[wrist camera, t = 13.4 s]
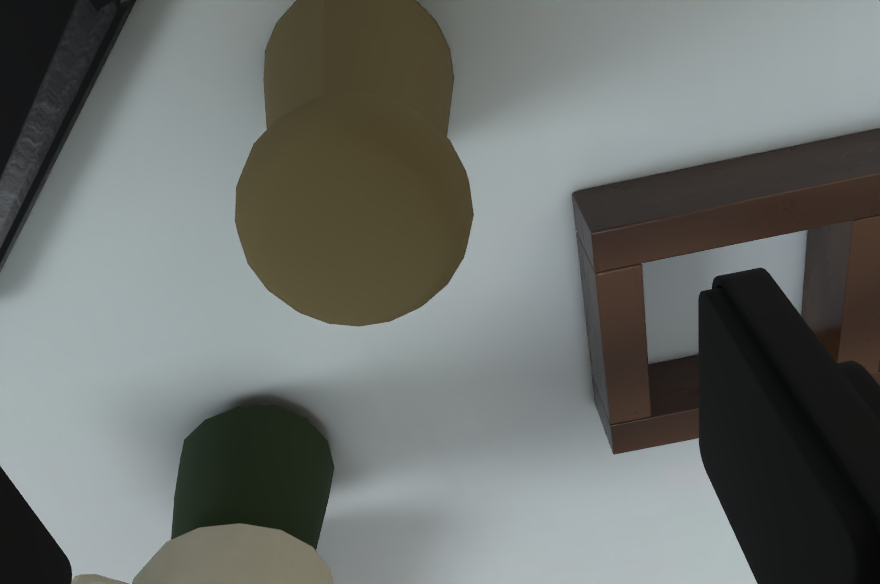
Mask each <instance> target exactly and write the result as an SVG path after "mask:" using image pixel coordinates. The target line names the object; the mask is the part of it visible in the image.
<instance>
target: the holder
mask: <svg viewBox="0 0 880 584" xmlns="http://www.w3.org/2000/svg"><path fill="white" fill-rule="evenodd" d="M572 200H573V208H574V217H575V226H576V231H577V234H576V235H577V244H578V253H579V262H580V271H581V280H582V289H583V298H584V307H585V316H586V325H587V334H588V342H589V351H590V360H591V369H592V376H593V377H592V380H593V389H594V398H595V405H596V408H597V411H598V413H599V416H600V419H601V422H602V425H603V427H604V430H605V433H606V436H607V438H608V441H609V444H610V447H611V449H612V452H613V454H619V453H624V452H629V451H634V450H640V449H645V448H650V447H655V446H660V445H665V444H671V443H676V442H681V441H686V440H691V439H696V438H699V355H698V356H693V357H688V358H683V359H678V360H673V361H668V362H663V363H658V364H653V365H648V356H647V339H646V323H645V306H644V290H643V273H642V264H641V263H645V262H650V261H655V260H660V259H665V258H670V257H675V256H680V255H684V254H689V253H694V252H699V251H704V250H709V249H714V248H719V247H724V246H729V245H734V244H739V243H743V242H748V241H753V240H758V239H763V238H768V237H773V236H778V235H783V234H788V233H793V232H798V231H803V230H807V229H808V236H807V250H806V263H805V277H804V290H803V304H802V318H803V319H804V321H805V322H806V323H807V325H808V326H809V327H810V329H811V330H812V331H813V333H814V334H815V335H816V337H817V338H818V339H819V341H820V342H821V343H822V345H823V346H824V347H825V349H826V350H827V351H828V353H829V354H830V355H831V357H832V358H833V359H834V361H835V362H836V363H841V362H846V361H851V360H853V361H855V362H857V363H859V364H861V365H862V366H863V367H864V368H865V369H866V370H867V371H868V372H869V373H870V374H871V376H872V377H873V378H874V379H875V381H876V382H877V383H878V384H879V386H880V129H876V130H872V131H867V132H862V133H857V134H852V135H847V136H843V137H838V138H833V139H828V140H823V141H819V142H814V143H809V144H804V145H799V146H794V147H790V148H785V149H780V150H775V151H770V152H766V153H761V154H756V155H751V156H746V157H742V158H737V159H732V160H727V161H722V162H717V163H713V164H708V165H703V166H698V167H693V168H689V169H684V170H679V171H674V172H669V173H664V174H660V175H655V176H650V177H645V178H640V179H636V180H631V181H626V182H621V183H616V184H612V185H607V186H602V187H597V188H592V189H587V190H583V191H578V192H574V193H572Z"/></svg>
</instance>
